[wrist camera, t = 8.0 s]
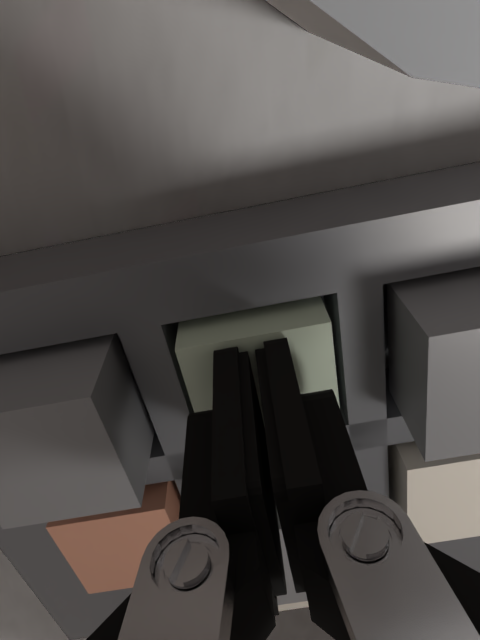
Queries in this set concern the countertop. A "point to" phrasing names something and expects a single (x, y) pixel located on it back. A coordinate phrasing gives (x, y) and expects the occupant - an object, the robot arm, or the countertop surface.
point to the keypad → (218, 298)
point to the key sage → (259, 345)
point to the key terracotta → (115, 538)
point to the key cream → (436, 492)
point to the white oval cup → (400, 33)
